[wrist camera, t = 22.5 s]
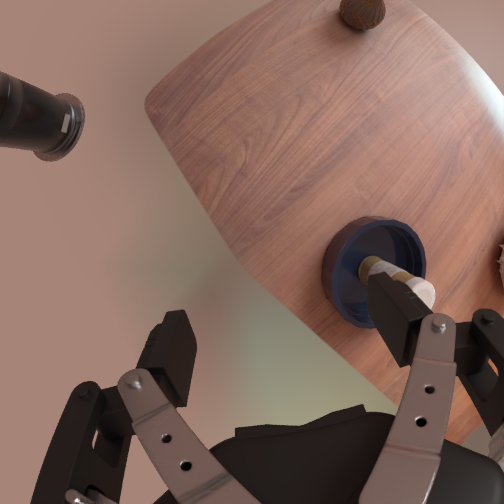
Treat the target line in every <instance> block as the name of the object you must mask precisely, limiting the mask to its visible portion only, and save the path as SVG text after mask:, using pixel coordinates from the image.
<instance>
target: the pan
mask: <svg viewBox="0 0 504 504" xmlns="http://www.w3.org/2000/svg"><path fill="white" fill-rule="evenodd" d="M369 256H377V257H379V258H380V259H382V260H384V261H386V262H389V263H391V264H393V265H395V266H397V267H399V268H401V269H403V270H405V271H407V272H408V273H409V274H411V275H413V276H415V277H420V278H422V279H424V280H425V273H426V257H425V251H424V247H423V245H422V243H421V241H420V239H419V237H418V235H417V234H416V233H415V232H414V231H413V230H412V229H411V228H410V227H409V226H408V225H407V224H405V223H402V222H399V221H397V220H394V219H390V218H385V217H381V216H370V217H363V218H361V219H358V220H356V221H353V222H351V223H349V224H348V225H347V226H346V227H345V228H343V229H342V230H341V231H340V232H339V233H338V234H337V235H336V237H335V238H334V240H333V241H332V243H331V244H330V246H329V247H328V249H327V253H326V256H325V259H324V262H323V266H322V282H323V286H324V289H325V293H326V296H327V298H328V299H329V301H330V302H331V303H332V305H333V306H334V307H335V309H336V310H337V311H338V312H339V313H340V314H341V316H342V317H343V318H344V319H345V320H346V321H348V322H350V323H352V324H353V325H355V326H357V327H362V328H369V329H372V328H376V327H375V325H374V324H373V322H372V320H371V319H370V316H369V313H368V308H367V297H368V285H366V284H364V283H363V282H361V280H360V279H359V275H358V269H359V265H360V264H361V262H362V261H363V259H365V258H366V257H369Z"/></svg>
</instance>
